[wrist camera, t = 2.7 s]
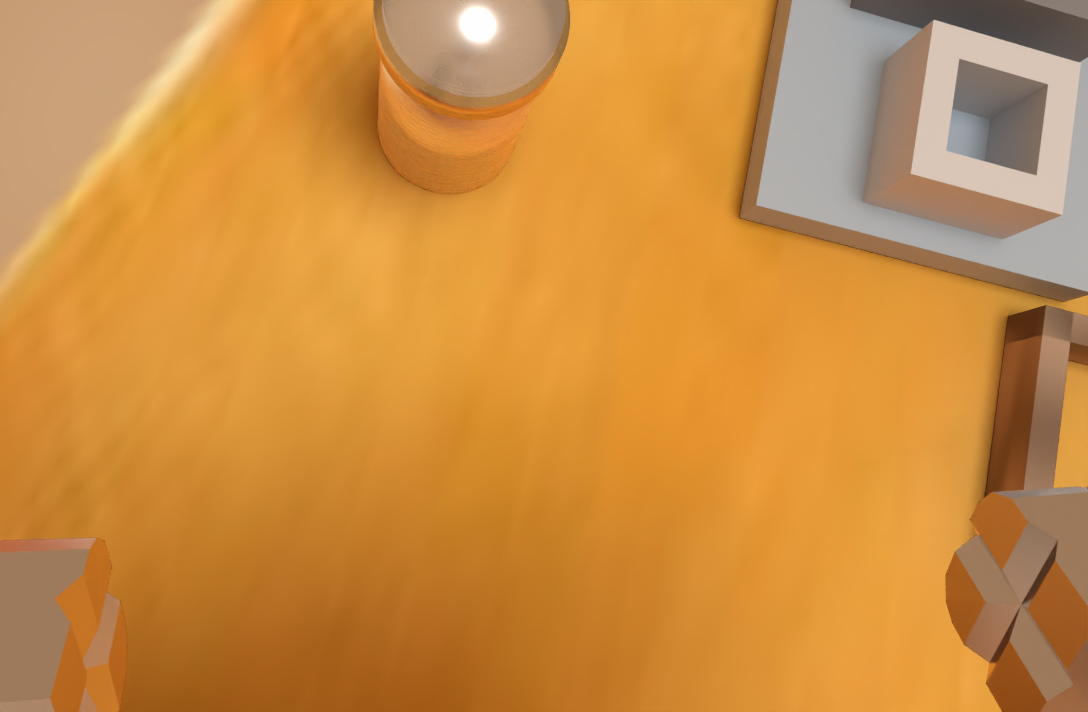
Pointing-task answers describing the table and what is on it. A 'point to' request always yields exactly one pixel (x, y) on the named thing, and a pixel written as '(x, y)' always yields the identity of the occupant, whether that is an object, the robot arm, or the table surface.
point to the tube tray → (1033, 396)
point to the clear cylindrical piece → (461, 83)
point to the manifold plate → (931, 135)
